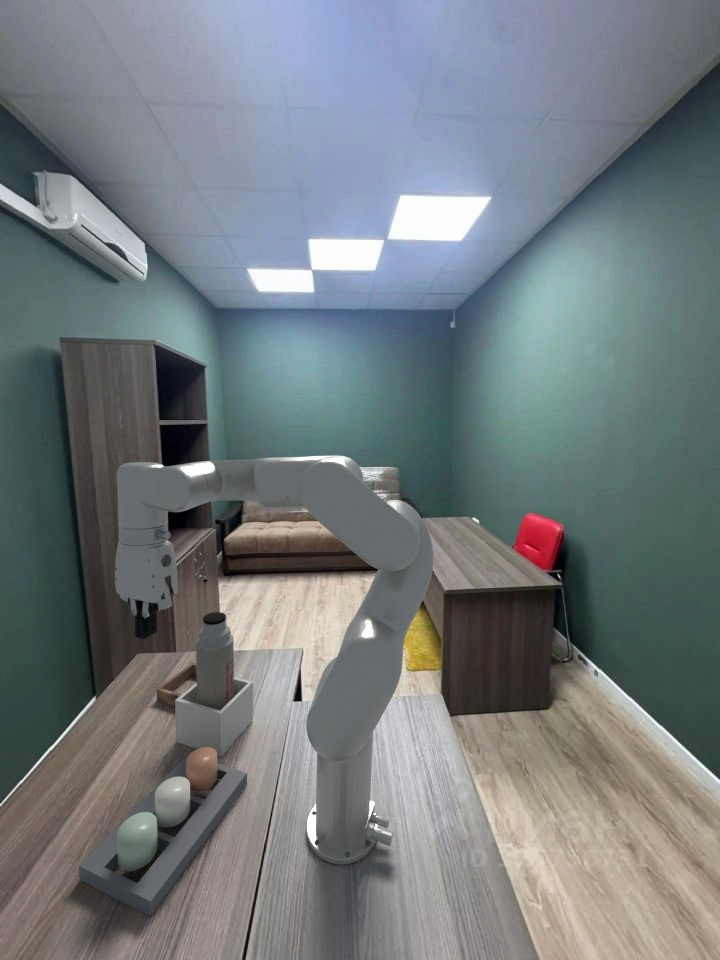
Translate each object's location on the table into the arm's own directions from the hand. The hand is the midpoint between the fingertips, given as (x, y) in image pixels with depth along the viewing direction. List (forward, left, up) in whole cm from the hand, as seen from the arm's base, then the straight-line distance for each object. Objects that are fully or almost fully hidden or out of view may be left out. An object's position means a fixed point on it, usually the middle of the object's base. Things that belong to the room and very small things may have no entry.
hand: (146, 634), depth 74 cm
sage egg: (-7, +10, -30) cm, 33 cm away
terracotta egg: (-7, -5, -30) cm, 32 cm away
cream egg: (-7, +2, -30) cm, 31 cm away
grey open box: (+1, -20, -33) cm, 38 cm away
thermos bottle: (+1, -19, -33) cm, 39 cm away
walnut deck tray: (+15, -30, -33) cm, 47 cm away
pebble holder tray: (-7, +2, -33) cm, 34 cm away
